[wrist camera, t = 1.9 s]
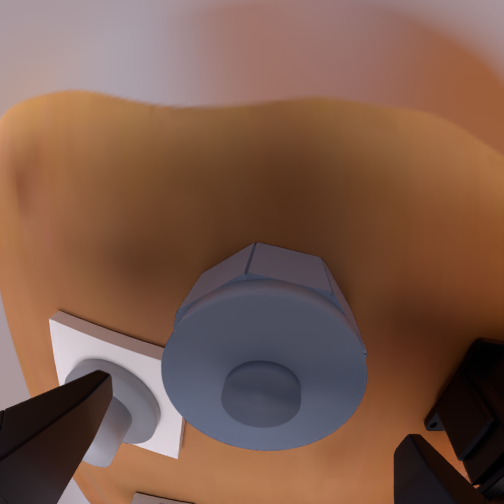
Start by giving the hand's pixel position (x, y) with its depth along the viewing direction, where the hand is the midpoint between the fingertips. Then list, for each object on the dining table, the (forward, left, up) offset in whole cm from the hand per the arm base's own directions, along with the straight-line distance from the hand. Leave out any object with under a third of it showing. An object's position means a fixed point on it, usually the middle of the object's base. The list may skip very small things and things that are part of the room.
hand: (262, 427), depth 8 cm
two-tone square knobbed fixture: (+7, +7, -6) cm, 12 cm away
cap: (0, 0, -6) cm, 6 cm away
